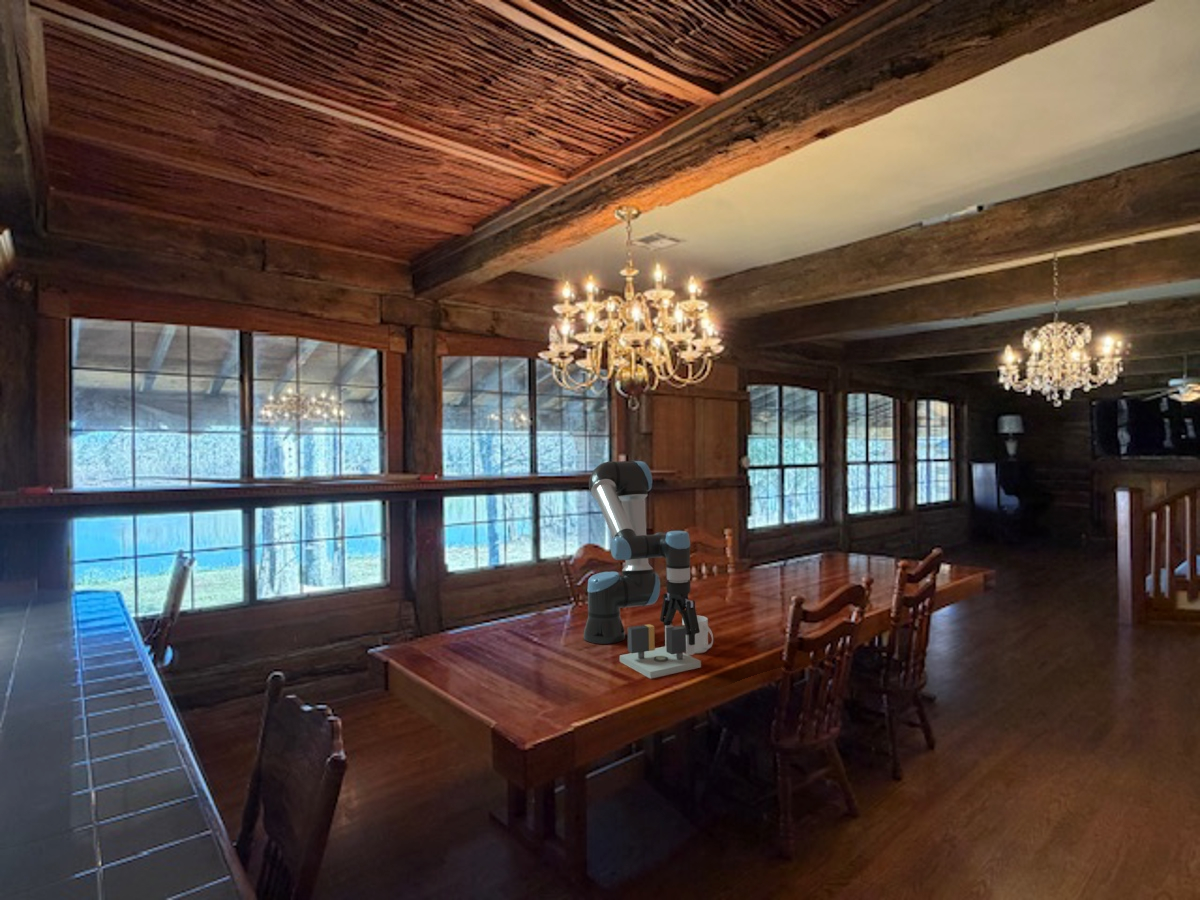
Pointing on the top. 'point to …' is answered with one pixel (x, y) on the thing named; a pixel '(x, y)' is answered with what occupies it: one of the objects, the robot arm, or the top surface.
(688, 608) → the robot arm
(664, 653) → the base plate
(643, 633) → the knob
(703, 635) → the mug
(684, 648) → the knob
